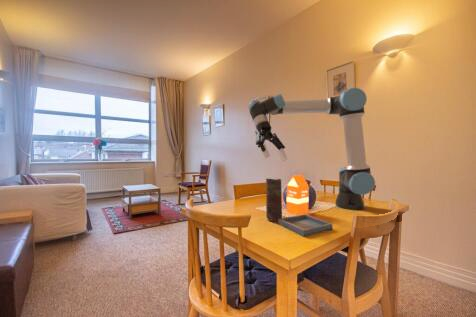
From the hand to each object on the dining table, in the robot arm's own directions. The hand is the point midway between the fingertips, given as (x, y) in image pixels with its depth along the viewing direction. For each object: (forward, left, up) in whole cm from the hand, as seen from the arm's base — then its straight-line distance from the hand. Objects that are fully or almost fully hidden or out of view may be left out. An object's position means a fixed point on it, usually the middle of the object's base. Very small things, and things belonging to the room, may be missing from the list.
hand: (276, 158), depth 111 cm
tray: (-2, +17, -29) cm, 34 cm away
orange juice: (-14, -1, -29) cm, 33 cm away
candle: (+4, +3, -29) cm, 30 cm away
